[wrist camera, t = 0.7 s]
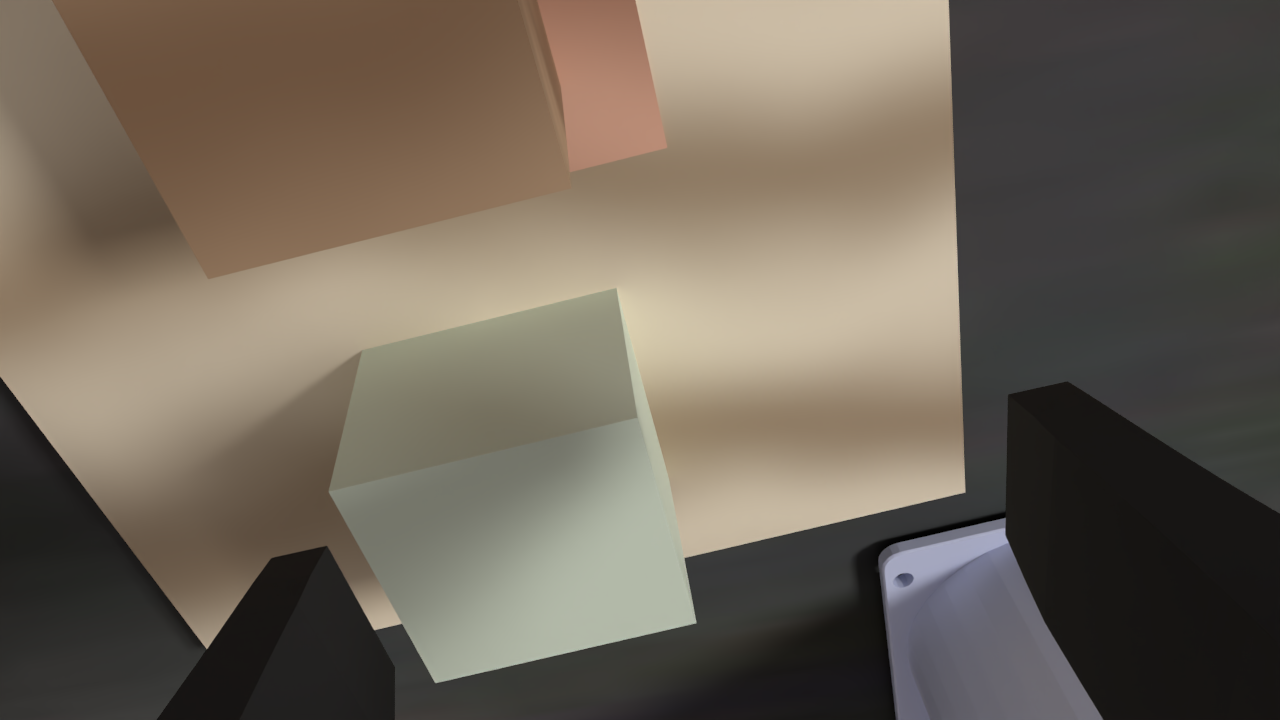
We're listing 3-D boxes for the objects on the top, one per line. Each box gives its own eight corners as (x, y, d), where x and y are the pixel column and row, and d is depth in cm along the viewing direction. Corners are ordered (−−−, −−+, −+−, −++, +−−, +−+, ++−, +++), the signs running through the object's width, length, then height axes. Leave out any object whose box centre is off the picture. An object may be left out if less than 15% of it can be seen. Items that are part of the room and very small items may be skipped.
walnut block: (561, 87, 16) (571, 188, 13) (271, 160, 16) (207, 278, 13) (464, -266, 13) (446, -252, 10) (113, -171, 13) (-18, -125, 10)
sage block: (668, 478, 21) (696, 623, 18) (448, 531, 21) (435, 683, 18) (616, 287, 18) (637, 417, 15) (362, 350, 19) (328, 491, 15)
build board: (949, 463, 23) (965, 494, 22) (229, 632, 24) (219, 667, 23) (894, -745, 12) (923, -780, 11) (-482, -350, 12) (-557, -354, 12)
